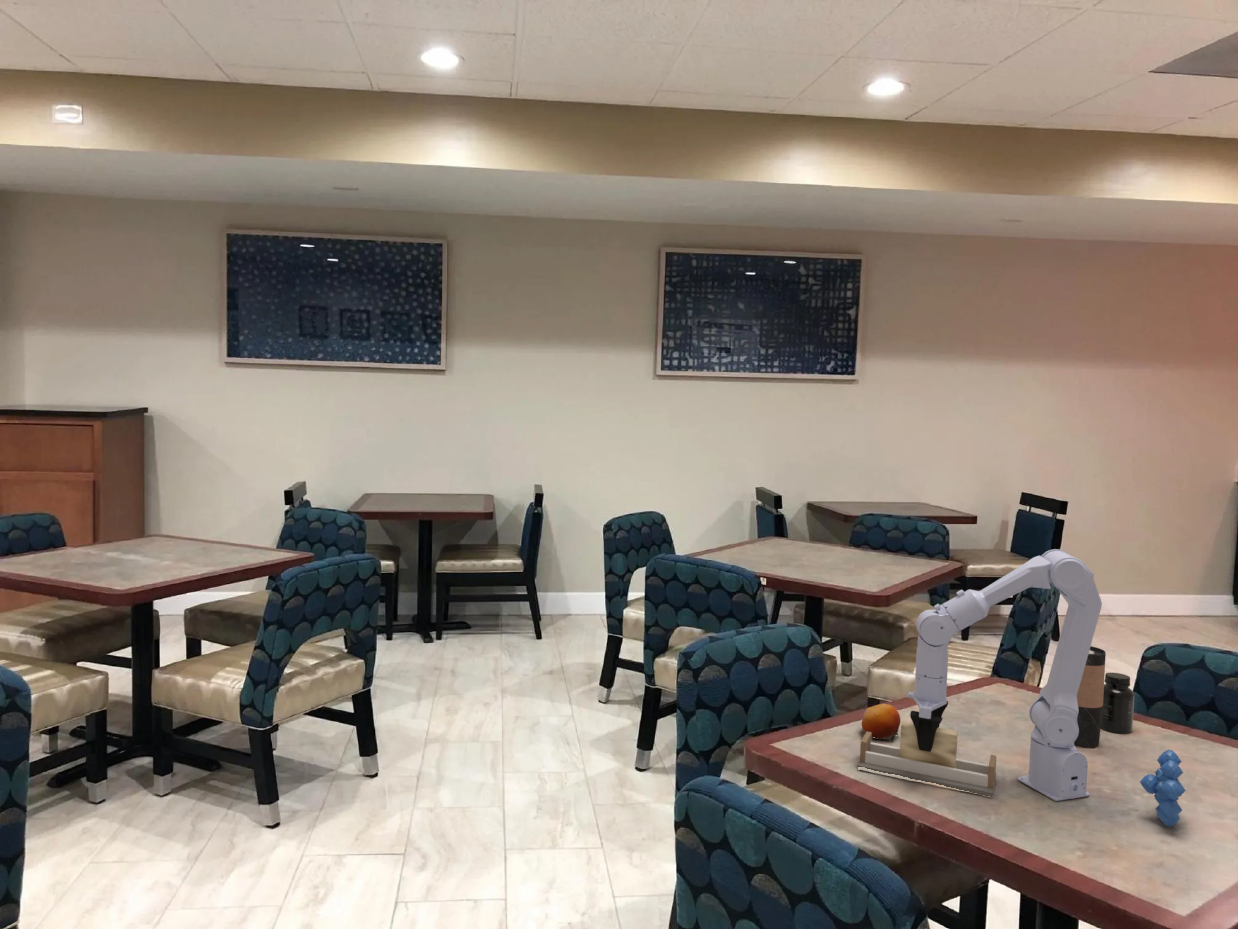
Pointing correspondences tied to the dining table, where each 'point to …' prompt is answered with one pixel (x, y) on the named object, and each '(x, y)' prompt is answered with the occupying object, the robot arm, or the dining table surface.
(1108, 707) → the supplement bottle
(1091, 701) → the travel mug
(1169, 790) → the grapes
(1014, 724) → the dining table surface
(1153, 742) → the dining table surface
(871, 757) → the track board
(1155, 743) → the dining table surface
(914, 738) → the door panel
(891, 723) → the fruit
